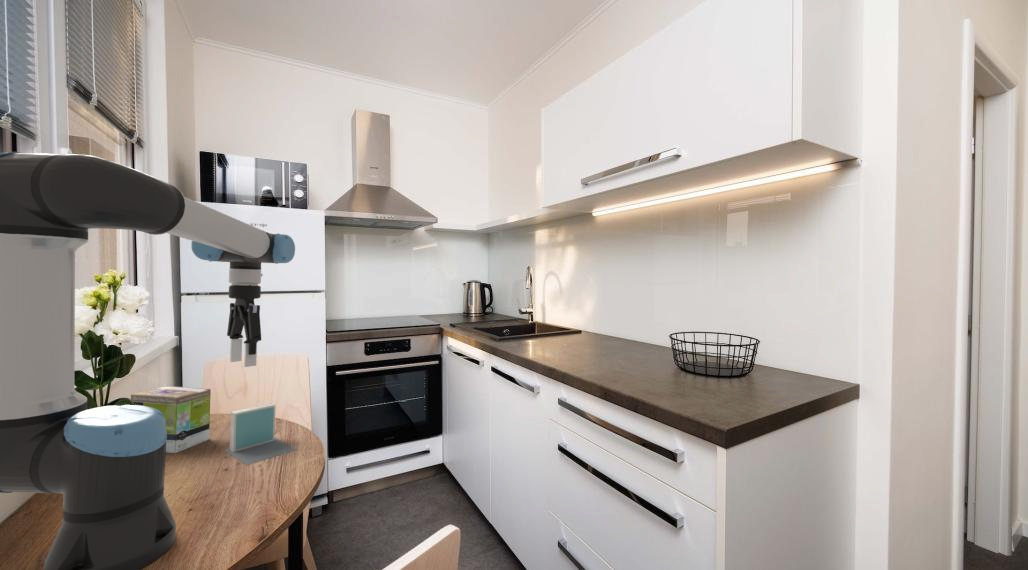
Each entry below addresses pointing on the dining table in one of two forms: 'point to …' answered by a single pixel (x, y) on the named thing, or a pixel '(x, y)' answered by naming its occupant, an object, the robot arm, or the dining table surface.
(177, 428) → the tea box
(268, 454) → the mat
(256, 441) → the tile
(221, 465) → the dining table surface
